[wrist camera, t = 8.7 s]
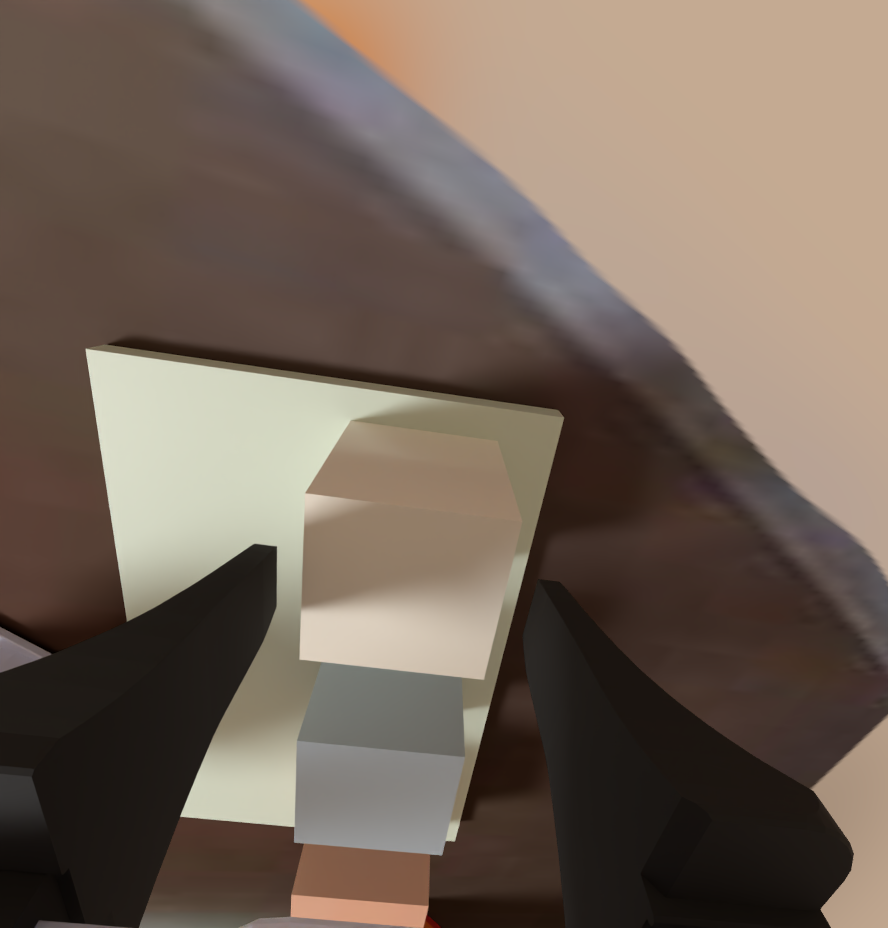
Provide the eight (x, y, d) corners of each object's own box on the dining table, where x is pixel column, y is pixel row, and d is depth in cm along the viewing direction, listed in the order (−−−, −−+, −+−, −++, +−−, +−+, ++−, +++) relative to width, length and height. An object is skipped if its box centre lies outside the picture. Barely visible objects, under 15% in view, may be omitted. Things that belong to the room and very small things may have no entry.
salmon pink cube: (419, 824, 26) (412, 972, 21) (322, 815, 26) (289, 963, 20) (432, 760, 24) (428, 906, 19) (326, 750, 24) (291, 894, 18)
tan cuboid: (472, 562, 19) (483, 679, 14) (341, 546, 19) (299, 659, 14) (497, 440, 17) (522, 521, 12) (350, 420, 17) (305, 493, 11)
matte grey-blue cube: (442, 713, 23) (442, 855, 17) (331, 702, 23) (294, 842, 17) (459, 627, 21) (464, 757, 15) (336, 613, 20) (296, 740, 15)
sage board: (454, 822, 28) (454, 841, 27) (166, 795, 27) (156, 814, 26) (558, 409, 18) (564, 417, 17) (105, 344, 17) (85, 349, 16)
